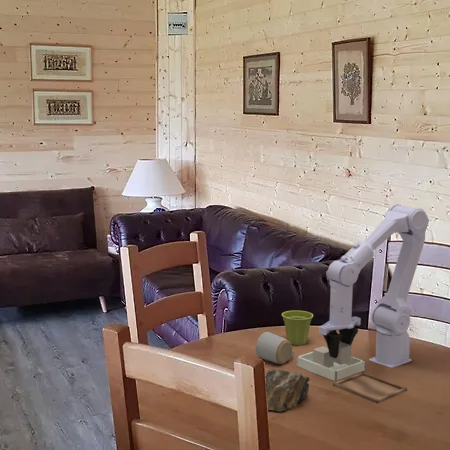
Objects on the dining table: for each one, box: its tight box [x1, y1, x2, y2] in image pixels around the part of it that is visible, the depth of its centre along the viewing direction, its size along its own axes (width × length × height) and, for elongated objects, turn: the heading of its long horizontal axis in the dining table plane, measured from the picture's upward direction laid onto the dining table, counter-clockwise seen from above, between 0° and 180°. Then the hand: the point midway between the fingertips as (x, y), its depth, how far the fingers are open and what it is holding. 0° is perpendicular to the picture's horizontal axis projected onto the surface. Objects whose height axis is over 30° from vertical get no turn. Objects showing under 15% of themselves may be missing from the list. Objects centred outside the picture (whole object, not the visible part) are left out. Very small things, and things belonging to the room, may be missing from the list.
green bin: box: [295, 351, 366, 382], centre depth 192 cm, size 12×14×3 cm
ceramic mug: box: [255, 331, 295, 365], centre depth 199 cm, size 11×8×8 cm
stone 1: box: [312, 345, 334, 367], centre depth 194 cm, size 4×4×4 cm
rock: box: [264, 369, 310, 412], centre depth 172 cm, size 14×11×10 cm
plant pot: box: [281, 310, 314, 346], centre depth 214 cm, size 9×9×9 cm
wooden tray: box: [332, 371, 408, 404], centre depth 179 cm, size 12×14×1 cm
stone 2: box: [330, 342, 353, 365], centre depth 189 cm, size 4×4×4 cm
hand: (339, 355), depth 189 cm, fingers closed on stone 2, 4 cm apart
